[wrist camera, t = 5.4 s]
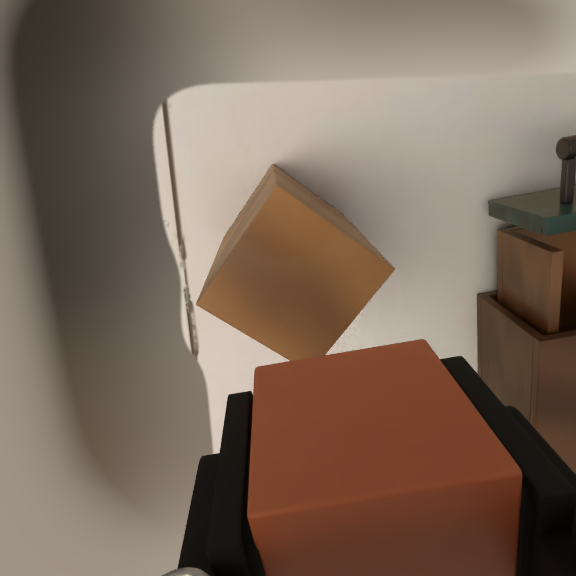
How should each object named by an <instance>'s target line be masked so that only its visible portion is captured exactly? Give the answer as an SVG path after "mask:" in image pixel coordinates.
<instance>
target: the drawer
mask: <svg viewBox="0 0 576 576" xmlns="http://www.w3.org/2000/svg"><path fill="white" fill-rule="evenodd" d="M556 153H557V156H558V157H559V158H560V159H562V170H561V187H560V188H557V189H551V190H546V191H540V192H535V193H529V194H524V195H518V196H513V197H507V198H501V199H496V200H490V201H489V216H492V217H494V218H497V219H500V220H502V221H505V222H508V223H511V224H513V225H516V226H517V227H511V228H506V229H500V230H498V276H497V302H498V303H499V304H501V305H502V306H503V307H505V308H506V309H507V310H509V311H510V312H511V313H513V314H514V315H516V316H517V317H518V318H520V319H521V320H522V321H524V322H525V323H527V324H528V325H529V326H531V327H532V328H533V329H535V330H536V331H538V332H539V333H540V334H542V335H543V336H545V335H550V334H556V333H562V332H568V331H573V330H576V185H575V171H576V135H574V136H568V137H563V138H561V139H560V140H559V141H558V142H557V145H556Z"/></svg>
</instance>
